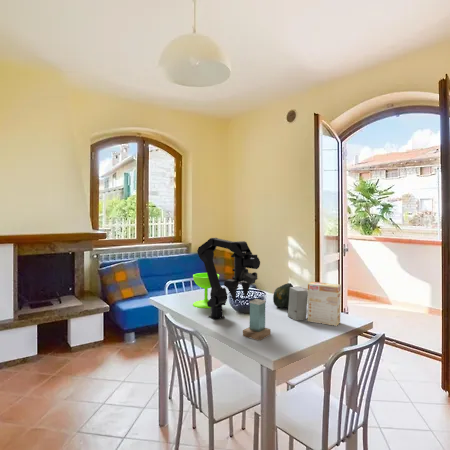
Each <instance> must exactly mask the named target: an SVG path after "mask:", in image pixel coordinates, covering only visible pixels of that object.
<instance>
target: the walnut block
mask: <svg viewBox="0 0 450 450" xmlns="http://www.w3.org/2000/svg"><path fill="white" fill-rule="evenodd" d="M271 333H272V332H271V328H266V327H265V329H264V330H262V331H260V332H257V331H253V330H250V326H249V327H246V328H243V330H242V337H246V338H250V339H252V340H257V341H262V340H263V339H266V338H267V337H269V336H271Z"/></svg>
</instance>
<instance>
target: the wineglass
mask: <svg viewBox="0 0 450 450" xmlns="http://www.w3.org/2000/svg"><path fill="white" fill-rule="evenodd" d="M217 276H218V279H219V280H220V274H218V273H217ZM192 279H193V282H194V283H195V285H196V286H198V287H199V288H201V289H203V290H204V298H203V299H202V300H197V301H194V302H193V303H192V306H193V307H194V308H196V307H197V309H211V307H208V305H207V302H208V301H209V300H210V299H208V298H209V296H208V291H209V289H211V285H210V282H209V278H208V275H207V272H199V273H195V274H192Z"/></svg>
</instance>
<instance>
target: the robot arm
mask: <svg viewBox="0 0 450 450" xmlns="http://www.w3.org/2000/svg"><path fill="white" fill-rule="evenodd" d="M217 248H223V249H227V250H229V251H230V252H231V253H232V254H231V256H230V257H231V258H234V259H233V260H234V261H233V263H234V268H232V272H233V273H234V275H233V277H232V279H231V278H228V279H226V280H224V281H223V286H224V287H222V286H221V283H220V278H219V279H218V276H217V274H218V273H217V269H216V266H215V263H214V255H215V253H214V251H215V250H216V249H217ZM197 254H198V257H199V259H200V260H201V262H203V263H204V267H205V271H206V273H207V275H208V278H209V282H210V285H211V288H210V292H209V293H210V299H208V300H209V301H208V302H207V305H208V307H211V308H210V315H208V316H207V317H208V318H210V319H213V320H221V319H224V318H225V315H223V312H224V309H223V306H225V305H226V304H227V303H226V302H227V300H228V292H229V294H230V296H231V298H232V300H233V301H236V299H237V298H236V297H237V290H238V289H239V288H240V287H239V284H241V287H242V292H243V296H244V297H245V298H246V297H247V296H248V293H249V289H250V287H251V286H252V285H253V284H256V280H258V279H259V278H258V273H257V272H256V271H255V272H249V269H253V270H258V269H259V268H260V266H261V261H260V258H259V257H258V254H253V253H252V250H251V249H250V247H249V245H248V243H247V241H245V240H244V241H243V240H241V241H231V240H227V239H222V238H218V237H211V238H209V239H208V240H207V241H205V242H204V243H202V244H201V245H200V246H199V247H198V248H197ZM227 289H228V292H227Z"/></svg>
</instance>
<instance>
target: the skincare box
mask: <svg viewBox="0 0 450 450" xmlns="http://www.w3.org/2000/svg"><path fill="white" fill-rule="evenodd" d="M287 309H288V310H287V317H289V318H291V319H292V320H294V321H296V322H298V321H306V320H307V313H308V289H305V288H303V287H300V286H293V287H290V292H289V306H288V307H287Z"/></svg>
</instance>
